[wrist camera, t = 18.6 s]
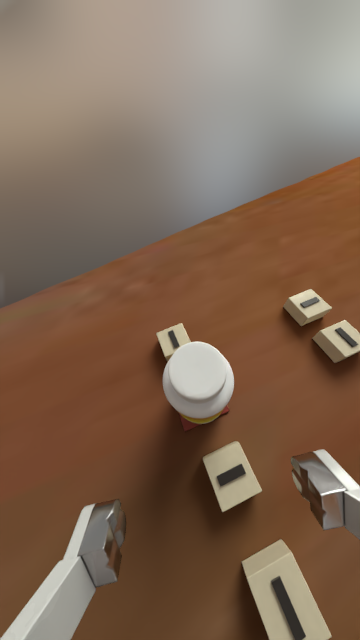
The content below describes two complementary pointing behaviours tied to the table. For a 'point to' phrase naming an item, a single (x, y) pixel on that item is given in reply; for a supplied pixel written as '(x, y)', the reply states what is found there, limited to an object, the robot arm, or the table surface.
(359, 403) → the table surface
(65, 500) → the table surface
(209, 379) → the supplement bottle
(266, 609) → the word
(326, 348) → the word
